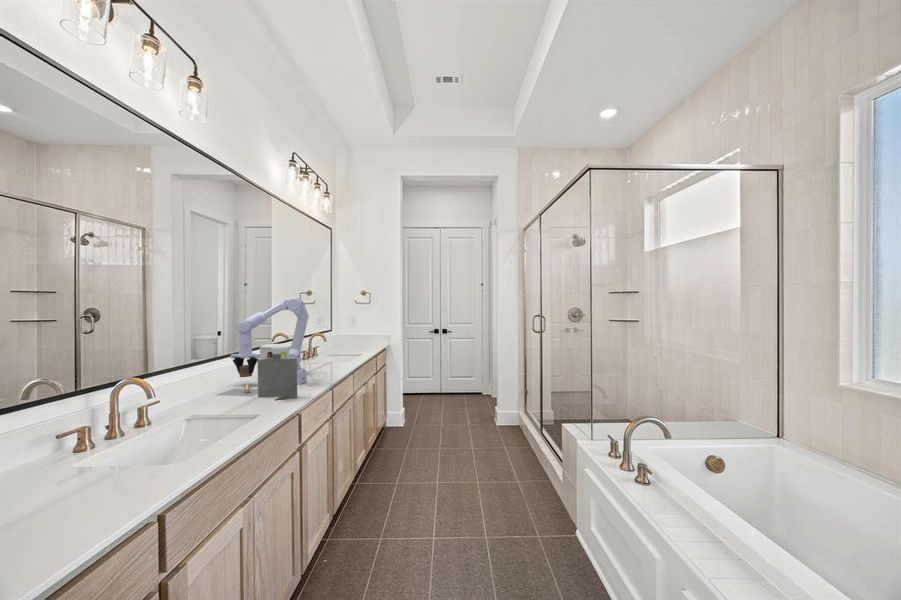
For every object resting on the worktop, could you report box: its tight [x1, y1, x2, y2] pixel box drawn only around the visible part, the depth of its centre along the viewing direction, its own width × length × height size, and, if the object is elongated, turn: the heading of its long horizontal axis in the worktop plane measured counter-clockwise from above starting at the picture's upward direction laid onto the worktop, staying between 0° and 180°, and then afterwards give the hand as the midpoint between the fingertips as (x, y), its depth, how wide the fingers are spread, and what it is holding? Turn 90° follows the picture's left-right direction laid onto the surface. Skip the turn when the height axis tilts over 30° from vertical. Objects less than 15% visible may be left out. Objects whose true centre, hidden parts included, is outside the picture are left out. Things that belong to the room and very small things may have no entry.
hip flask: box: [256, 353, 298, 401], centre depth 160 cm, size 16×4×20 cm, turn 100°
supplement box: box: [259, 343, 292, 359], centre depth 209 cm, size 17×13×18 cm
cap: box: [238, 364, 253, 378], centre depth 179 cm, size 5×5×5 cm
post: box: [243, 384, 251, 394], centre depth 165 cm, size 2×2×4 cm
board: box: [216, 388, 258, 397], centre depth 167 cm, size 18×12×2 cm, turn 81°
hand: (245, 373), depth 179 cm, fingers closed on cap, 5 cm apart
